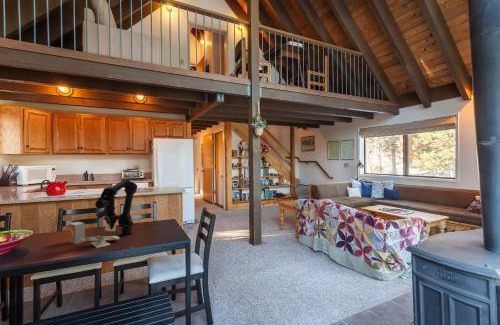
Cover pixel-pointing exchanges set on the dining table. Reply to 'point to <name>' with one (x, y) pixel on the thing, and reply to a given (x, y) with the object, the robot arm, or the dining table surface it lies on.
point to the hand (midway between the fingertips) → (110, 228)
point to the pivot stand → (100, 243)
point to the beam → (99, 238)
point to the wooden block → (109, 227)
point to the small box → (76, 232)
